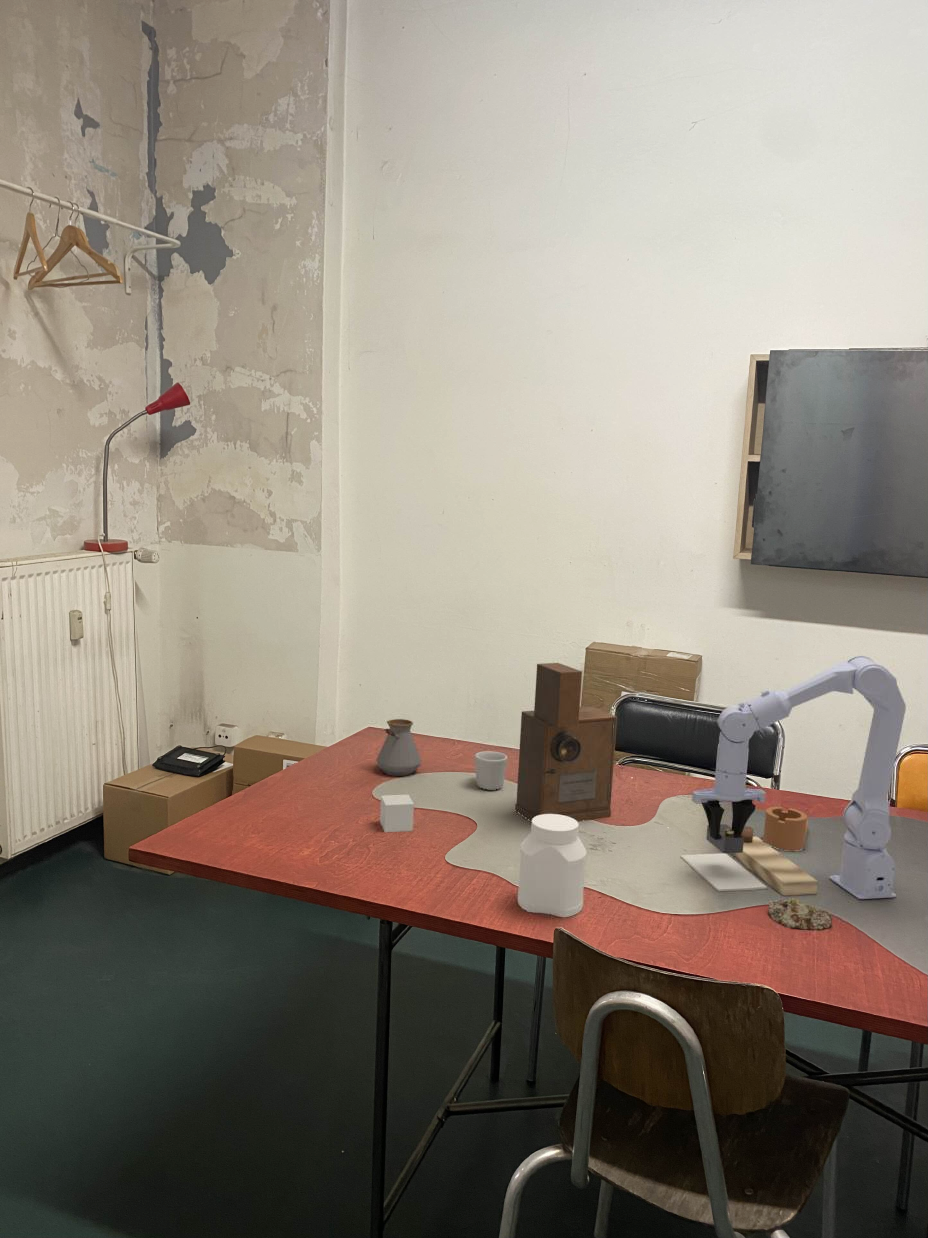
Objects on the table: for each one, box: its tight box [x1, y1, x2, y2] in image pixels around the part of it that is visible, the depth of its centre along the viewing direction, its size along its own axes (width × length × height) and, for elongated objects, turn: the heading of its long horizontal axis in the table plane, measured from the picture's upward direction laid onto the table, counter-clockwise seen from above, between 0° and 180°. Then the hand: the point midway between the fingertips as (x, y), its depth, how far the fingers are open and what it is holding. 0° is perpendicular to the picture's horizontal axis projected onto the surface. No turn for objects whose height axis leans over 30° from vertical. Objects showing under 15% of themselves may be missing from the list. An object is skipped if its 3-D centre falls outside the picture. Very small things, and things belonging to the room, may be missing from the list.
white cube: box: [379, 794, 415, 833], centre depth 193 cm, size 6×6×6 cm
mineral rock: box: [767, 897, 834, 931], centre depth 158 cm, size 11×4×8 cm
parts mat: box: [679, 852, 768, 892], centre depth 177 cm, size 16×10×1 cm, turn 12°
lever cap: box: [705, 823, 744, 854], centre depth 176 cm, size 7×4×4 cm, turn 12°
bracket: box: [762, 806, 810, 852], centre depth 198 cm, size 18×8×7 cm, turn 155°
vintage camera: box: [514, 662, 618, 822], centre depth 201 cm, size 19×14×35 cm
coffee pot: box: [375, 718, 422, 777], centre depth 225 cm, size 21×12×15 cm, turn 171°
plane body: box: [731, 825, 819, 897], centre depth 179 cm, size 22×7×5 cm, turn 12°
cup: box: [474, 750, 509, 791], centre depth 223 cm, size 11×8×8 cm
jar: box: [517, 814, 587, 918], centre depth 159 cm, size 12×10×15 cm
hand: (725, 837), depth 176 cm, fingers closed on lever cap, 4 cm apart
